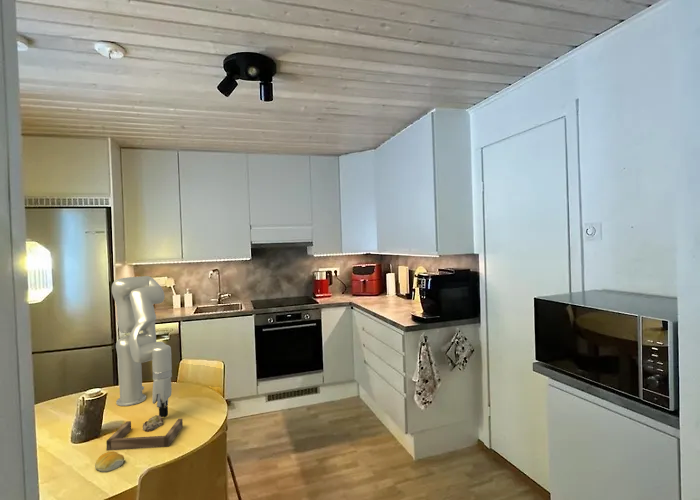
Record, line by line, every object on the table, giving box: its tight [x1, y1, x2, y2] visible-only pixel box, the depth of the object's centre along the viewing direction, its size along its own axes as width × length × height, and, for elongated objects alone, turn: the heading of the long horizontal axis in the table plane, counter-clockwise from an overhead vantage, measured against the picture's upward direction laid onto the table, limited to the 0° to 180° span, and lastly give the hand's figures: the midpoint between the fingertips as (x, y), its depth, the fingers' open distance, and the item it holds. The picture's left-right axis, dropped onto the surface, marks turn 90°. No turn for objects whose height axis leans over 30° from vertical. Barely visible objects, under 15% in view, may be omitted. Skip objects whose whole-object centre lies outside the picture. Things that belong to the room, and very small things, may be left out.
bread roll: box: [94, 450, 125, 473], centre depth 137 cm, size 8×9×4 cm
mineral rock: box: [142, 414, 164, 433], centre depth 166 cm, size 11×4×8 cm
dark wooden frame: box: [105, 417, 184, 451], centre depth 156 cm, size 16×22×4 cm
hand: (163, 416), depth 173 cm, fingers closed
